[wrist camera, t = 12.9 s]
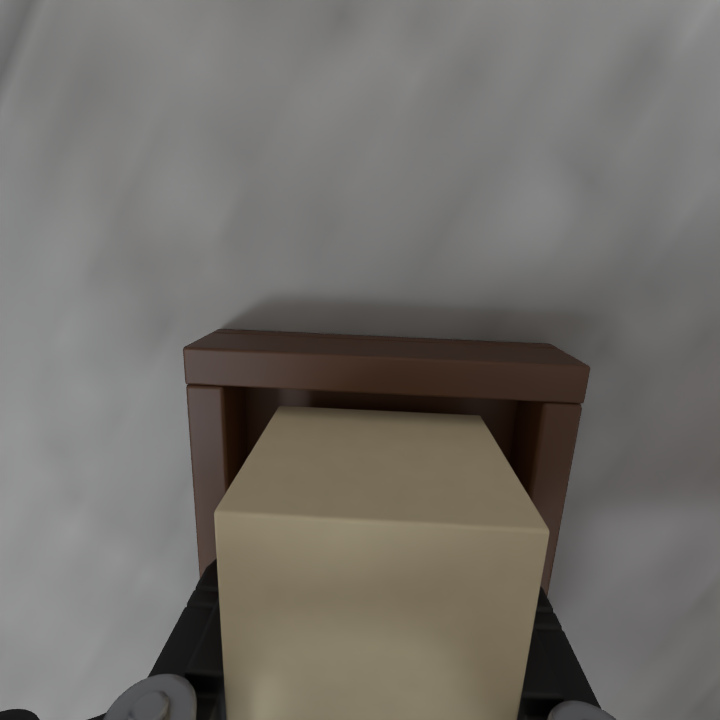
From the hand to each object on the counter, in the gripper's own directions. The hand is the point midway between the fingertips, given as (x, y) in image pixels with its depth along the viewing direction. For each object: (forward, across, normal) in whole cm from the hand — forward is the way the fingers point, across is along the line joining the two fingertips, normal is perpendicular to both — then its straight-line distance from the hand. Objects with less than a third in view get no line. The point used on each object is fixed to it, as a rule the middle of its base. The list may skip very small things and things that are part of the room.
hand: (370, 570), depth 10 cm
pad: (0, 0, 0) cm, 0 cm away
